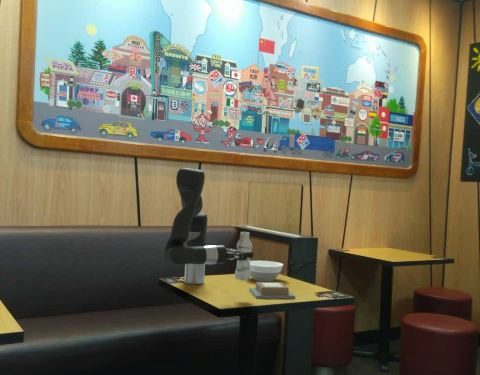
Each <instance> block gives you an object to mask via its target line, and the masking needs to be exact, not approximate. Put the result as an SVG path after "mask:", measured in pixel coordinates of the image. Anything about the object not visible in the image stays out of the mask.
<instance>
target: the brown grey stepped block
mask: <svg viewBox="0 0 480 375" xmlns="http://www.w3.org/2000/svg"><path fill="white" fill-rule="evenodd" d="M289 289H290V288H289V287H288V286H287V284H284V283H283V282H276V281H268V282H264V281H256V282H255V287H249V290H248V291H249V292H250V293H251V294H252V295H253V297H254V298H255V299H275V298H276V299H281V300H282V299H286V300H287V299H291V300H293V299H296V295H295V294H294V293H292V292H291V291H290V290H289Z"/></svg>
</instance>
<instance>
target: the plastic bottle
mask: <svg viewBox="0 0 480 375" xmlns="http://www.w3.org/2000/svg"><path fill="white" fill-rule="evenodd" d="M236 250H237V251H240V252H252V250H253V243H252V241H251V239H250V232H248V231H240V238H239V240H237V243H236ZM237 253H238V252H237ZM242 257H243V255H242ZM250 261H251V258H247V259H246V260H236V267H235V269H234V270H235V271H234V276H235V279H236V280H239V281H241V282H242V281H248V280H249V279H251V276H250V275H251V273H250Z"/></svg>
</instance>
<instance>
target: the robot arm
mask: <svg viewBox="0 0 480 375" xmlns="http://www.w3.org/2000/svg"><path fill="white" fill-rule="evenodd" d="M205 177H206V175H205V172H204V171H203V170H202V169H201V170H200V169H195V168H189V167H181V168H179V169H178V171H177V174H176V183H175V184H176V187H177V190H178V193H179V196H180V201H181V209H180V210H179V211H178V213H177V214H176V215H175V217H174V218H173V222H172V227H171V232H170V236H169V238H168V241H167V242H166V245H165V248H164V250H163V251H164V252H163V261H164V262H165V264H167V265H168V266H178V265H185V266H184V283H185V284H190V285H201V284H204V283H205V270H206V268H205V267H206V265H223V264H225V263H226V262H227V260H230V261H232V260H234V261H237V260H246V259H247V258H250V259H253V258H254V252H252V251H251V252H240V251H237V248H226V246H225V245H223V244H222V245H221V244H220V245H209V244H208V245H207V243H206V242H207V230H208V215H207V214H206V213H203V212H202V210H203V206H204V205H203V197H202V192H203V189H204V186H205V180H206V178H205ZM201 212H202V213H201ZM190 233H199V234H198V236H196V237H194V238H190V239H189V235H190ZM185 243H186V245H185V246H184V244H185ZM237 252H238V253H237ZM242 255H243V257H242Z"/></svg>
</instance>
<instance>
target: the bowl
mask: <svg viewBox="0 0 480 375" xmlns="http://www.w3.org/2000/svg"><path fill="white" fill-rule="evenodd" d="M283 266H284V263H281V262H278V261H270V260H250V273H251V275H250V278H252V280H253V281H256V282H275V279H277V278H278V276H279V275H280V273H281V272H282V269H283Z"/></svg>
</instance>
